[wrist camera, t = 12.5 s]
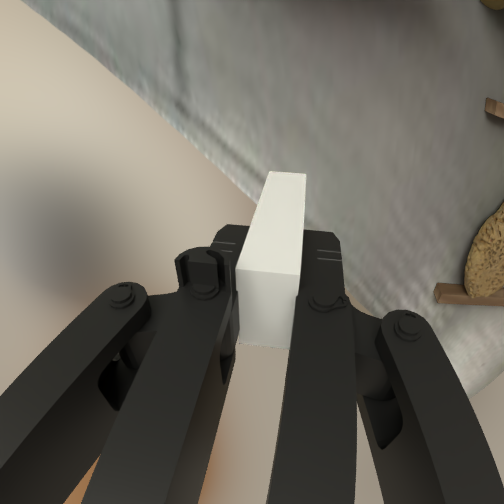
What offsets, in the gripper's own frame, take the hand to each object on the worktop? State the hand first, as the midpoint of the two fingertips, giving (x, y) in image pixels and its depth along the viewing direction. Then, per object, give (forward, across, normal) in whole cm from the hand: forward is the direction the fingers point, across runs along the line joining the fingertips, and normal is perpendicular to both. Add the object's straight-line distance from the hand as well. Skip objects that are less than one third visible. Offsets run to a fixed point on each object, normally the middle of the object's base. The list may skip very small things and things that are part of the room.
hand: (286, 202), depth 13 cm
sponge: (+30, +35, -16) cm, 48 cm away
